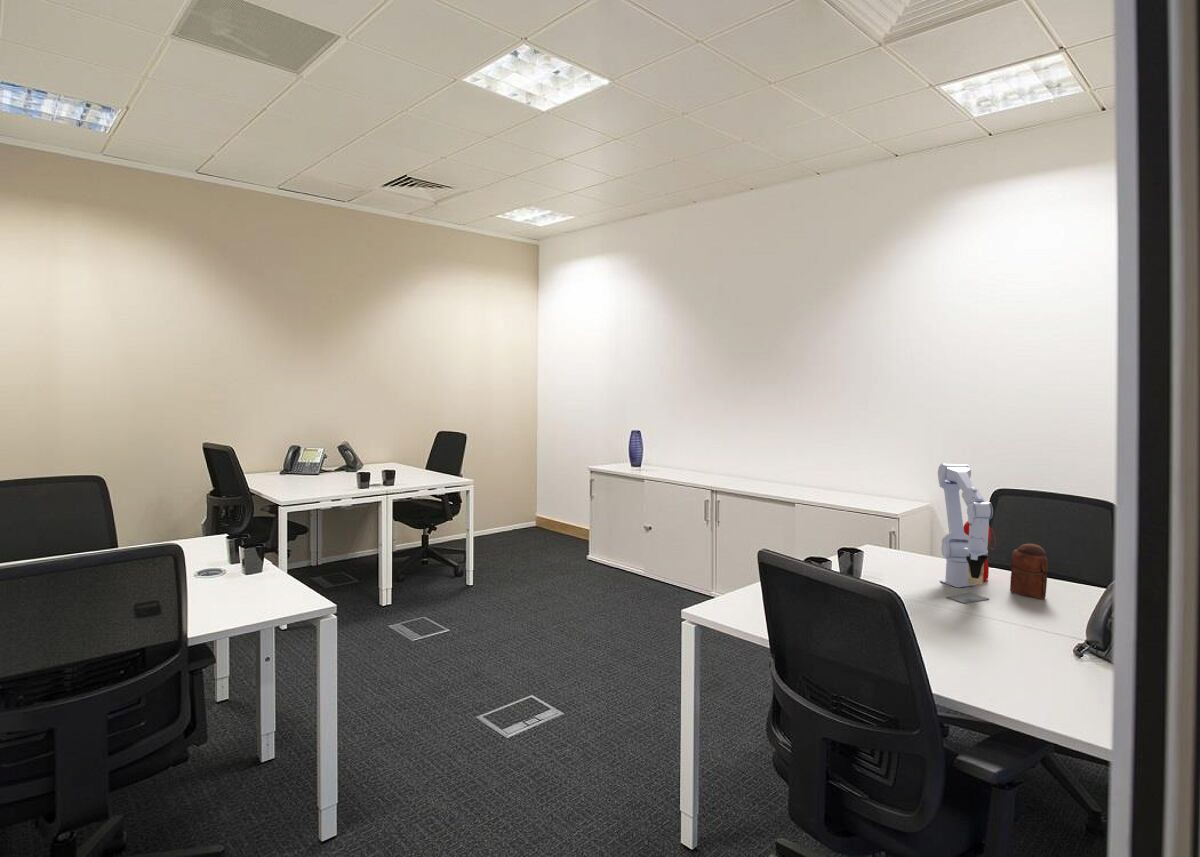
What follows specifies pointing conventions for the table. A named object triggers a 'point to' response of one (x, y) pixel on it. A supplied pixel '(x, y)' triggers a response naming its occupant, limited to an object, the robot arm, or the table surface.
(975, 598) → the slate mat
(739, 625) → the table surface
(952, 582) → the robot arm
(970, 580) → the oak block
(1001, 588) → the table surface
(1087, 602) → the table surface
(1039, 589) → the brown upright rounded block
